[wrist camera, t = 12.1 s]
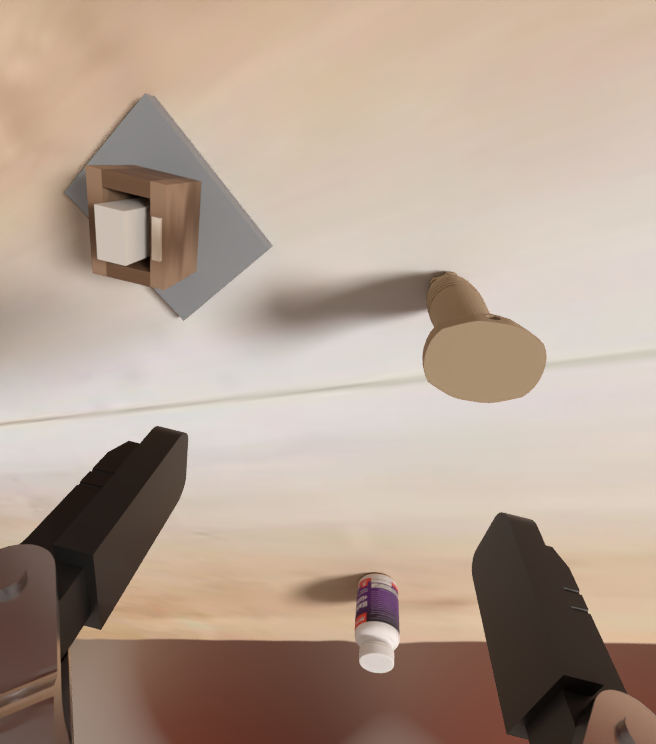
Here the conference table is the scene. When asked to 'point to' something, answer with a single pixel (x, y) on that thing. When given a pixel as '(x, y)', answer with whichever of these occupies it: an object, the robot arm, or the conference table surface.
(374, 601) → the pill bottle
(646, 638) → the conference table surface
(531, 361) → the handle
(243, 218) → the base
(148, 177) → the open cubby box
